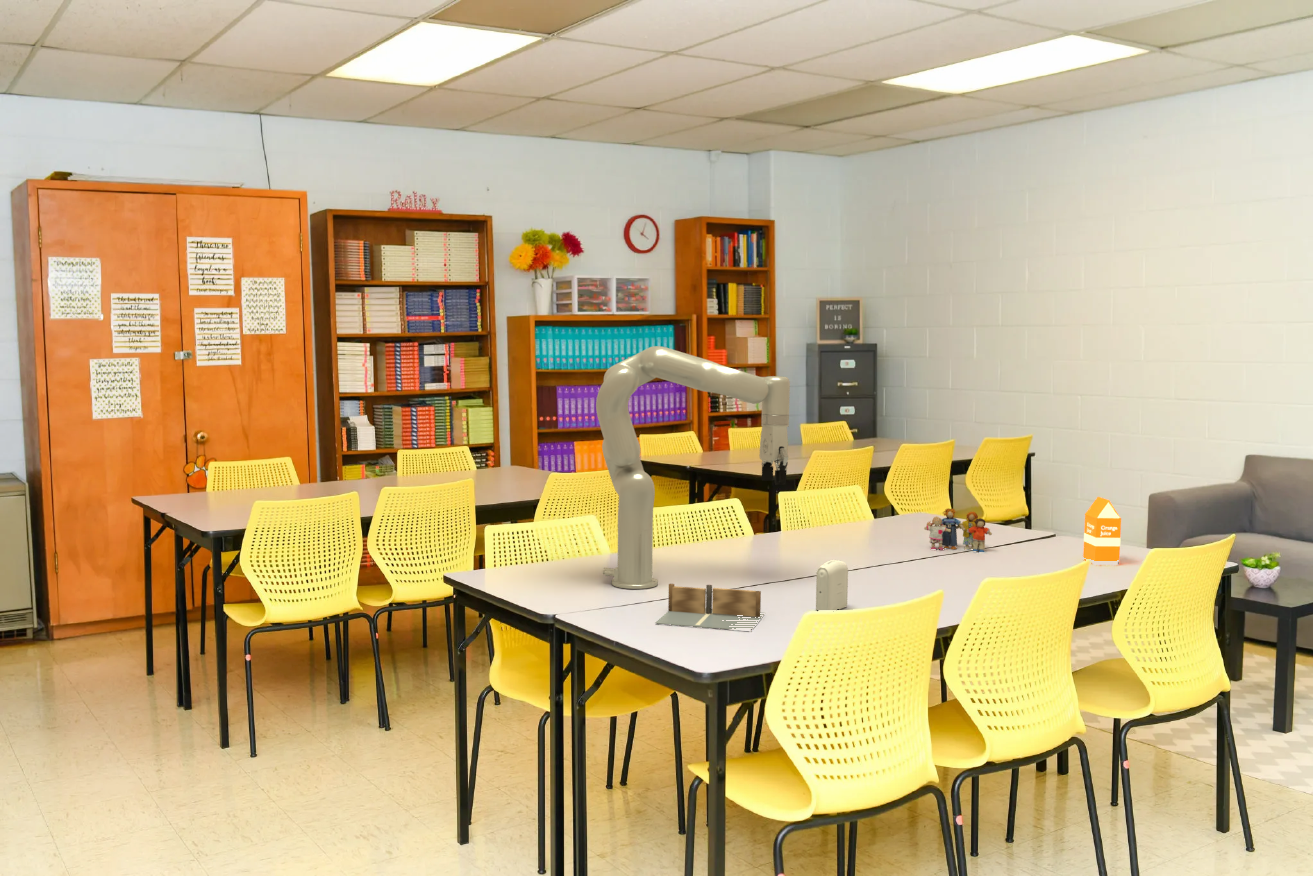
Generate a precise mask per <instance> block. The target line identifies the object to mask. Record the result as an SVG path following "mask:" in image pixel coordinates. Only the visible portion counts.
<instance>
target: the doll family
mask: <svg viewBox="0 0 1313 876" xmlns="http://www.w3.org/2000/svg"><path fill="white" fill-rule="evenodd" d="M942 514H943V516H946V517H943V518H941V517H939V516H933V519H931V521H928V522H927V523H926V526H924V528H923V529H924V530H925V531H929V537H928V538H929V543H930V544H931V547H930V548H931V549H937V550H938V549H940V550H939V551H944V550H945V549H944V548H949V549H950V550H957V546H958V536H957V535H958V534H957V530H958V529H960V530H961V529H962V531H963V533H962V537H963V541H962V545H965V547H964V548H963V550H965V549H973V550H972V551H979V552H985V553H986V551H985V549H986V548H985V547H986V544H985V543H986V535H988V536H992V534H993V533H992V532H991V531H990V530H991V528H988V527H985V526H986V521H985V519H984V518H982V517H981V518H980V517H979V515H978V514H977V513H976V511H970V512H968V513H966V518H965V520H963V521H961V520H960V519H958V518H956V517H955V514H957V512H956V508H946V509H945V510H944V511H943V512H942ZM931 522H932V523H931ZM936 544H938V547H936ZM970 546H971V547H970ZM943 547H944V548H943ZM931 549H930V550H931ZM943 549H944V550H943ZM979 552H978V553H979Z"/></svg>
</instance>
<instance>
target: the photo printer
mask: <svg viewBox="0 0 1313 876" xmlns="http://www.w3.org/2000/svg"><path fill="white" fill-rule="evenodd" d="M848 572H849V567H848V565H847V563H846V562H845V561H842V560H838V559H837V560H836V559H831V560H828V561H826V562H824V563H823V564H822V565H820V566H819V567H818V569H817V570H816V574H815V575H816V579H815V580H816V583H815V587H816V588H815V589H816V590H815V611H817V610H836V611H838V610H837V609H839V610H842V609H844V608H846V607H847V606H848V591H849V590H848V587H849V586H848V585H849V582H848V581H849V573H848Z"/></svg>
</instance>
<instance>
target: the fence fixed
mask: <svg viewBox="0 0 1313 876" xmlns="http://www.w3.org/2000/svg"><path fill="white" fill-rule="evenodd" d="M705 586H706V588H704V587H702V588H701V587H692V586H691V587H689V586H677V585H676V586H675V583H668V605H667V609H668V610H667V612H668V611H675V612H688V613H701V614H705V608H706V614H712V603H713V584H706V585H705Z"/></svg>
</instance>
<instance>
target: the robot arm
mask: <svg viewBox="0 0 1313 876" xmlns="http://www.w3.org/2000/svg"><path fill="white" fill-rule="evenodd" d="M603 375H604V376H603V383H602V384H601V385H600V388H599V390H598V392H597V396H596V404H595V408H596V415H597V419H598V423H599V426H600V427H599V428H600V430H601V433H602V437H603V440H602V445H601V449H602V453H603V458H604V460H605V465H606V467H607V471H608V473H609V477H610V480H611V482H612V486H613V488H614V490H615V493H616V494H617V495H618V508H617V509H618V510H617V566H616V567H614V568H611V567H604V568H603V570H602V574H603V575H604V576H605V577H611V576H612V577H613V578H612V580H611V585H612V586H614V587H616V588H620V589H627V590H628V589H629V590H641V589H642V590H644V589H650V588H655V587H656V586H658V585H659V581H658V579H657V578H655V577H653V551H654V550H653V548H654V547H653V546H654V545H653V538H654V531H653V530H654V524H653V523H654V506H655V505H654V503H655V494H656V493H655V492H656V491H655V490H656V489H655V484H654V481H653V479H652V477H651V476H650V475H649V474H648V473H647V472H645V470H644V466H643V464H642V461H641V458H640V455H641V445H640V442H639V440H638V437H637V434H636V431H635V427H634V425H633V423H632V418H631V414H630V412H629V401H630V398H631V397H632V395H633V394H634V393H635V392H636V391H637V389H638V387H641V386H642V385H645V384H647V383H649V382H651V381H652V380H654V379H656V378H657V379H660V380H665V381H668V382H671V383H674V384H677V385H681V386H685V387H689V388H691V389H693V390H698V391H701V392H707V393H714V394H719V395H723V396H727V397H730V398H732V399H736V400H739V401H741V402H743V403H747V404H760V403H761V432H760V441H759V459H760V460H761V481H764V482H765V481H767V482H768V481H773V480H774V485H775V486H781V485H782V486H786V485H787V470H788V465H789V464H788V460H789V447H788V446H789V443H788V442H789V441H788V440H789V439H788V438H789V437H788V427H789V425H790V420H789V419H790V394H791V392H790V387H791V386H790V384H791V381H790V379H789V378H788V377H786V376H777V375H775V376H774V375H772V376H771V375H770V376H758V375H755V374H752V373H749V372H745V371H742V370H739V369H735V368H731V367H729V366H725V365H722V364H719V363H717V362H715V361H712V360H709V359H705V358H702V357H699V356H695V355H693V354H689V353H687V352H686V353H685V352H681V351H679V350H675V349H672V348H670V347H669V348H668V347H667V346H661V345H660V346H659V345H658V346H656V345H655V346H654V345H653V346H650V347H647V348H645V349H644V350H642V351H640V352H638V353H636V354H634V355H632V356H630V357H628V358H626V359H624V360H622V361H620V362H618V363H615V364H614V365H611V366H610V367H608V369H607V370H606V372H605V373H604V374H603ZM773 464H774V465H775V470H774V466H773Z"/></svg>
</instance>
